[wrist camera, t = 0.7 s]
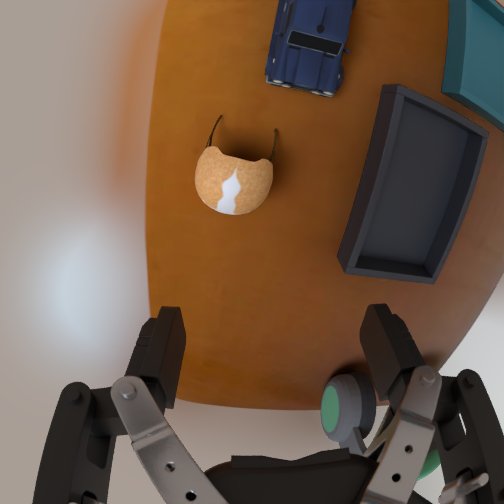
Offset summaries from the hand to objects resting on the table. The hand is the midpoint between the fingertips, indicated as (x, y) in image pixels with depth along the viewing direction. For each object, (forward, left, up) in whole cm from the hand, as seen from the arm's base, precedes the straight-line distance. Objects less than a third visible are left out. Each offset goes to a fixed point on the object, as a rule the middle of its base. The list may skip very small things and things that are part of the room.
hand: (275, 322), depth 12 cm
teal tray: (-22, +22, -16) cm, 35 cm away
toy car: (-16, +1, -16) cm, 22 cm away
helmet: (-3, -3, -16) cm, 16 cm away
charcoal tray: (-4, +14, -16) cm, 21 cm away
